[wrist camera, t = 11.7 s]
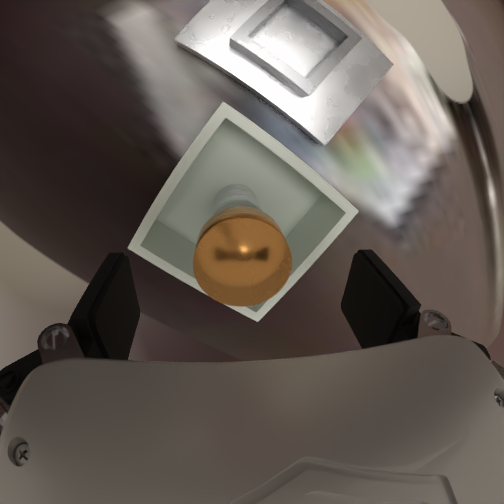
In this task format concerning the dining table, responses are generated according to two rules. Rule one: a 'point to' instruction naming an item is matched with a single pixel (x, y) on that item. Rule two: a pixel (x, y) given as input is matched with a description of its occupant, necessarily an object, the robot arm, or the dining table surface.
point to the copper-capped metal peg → (241, 251)
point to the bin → (259, 181)
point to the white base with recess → (290, 57)
